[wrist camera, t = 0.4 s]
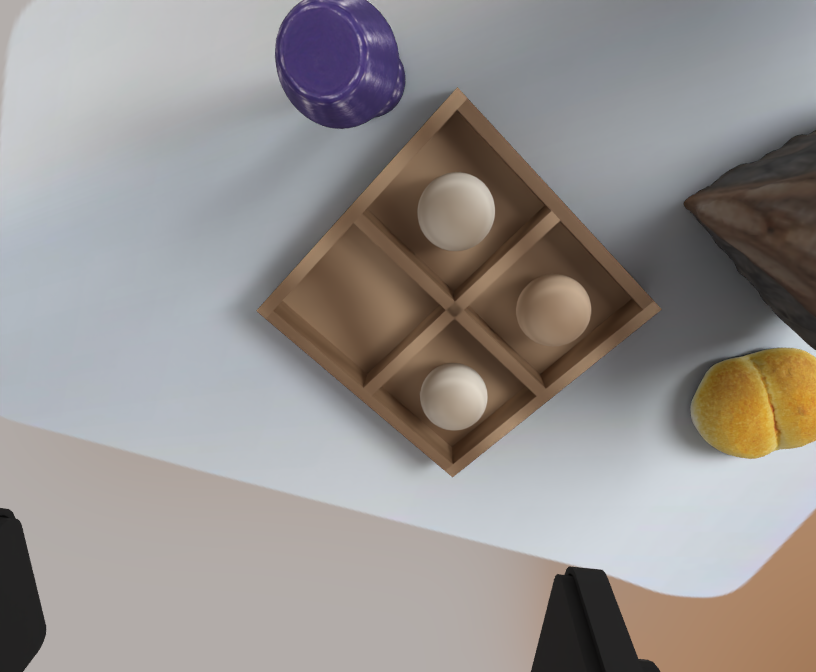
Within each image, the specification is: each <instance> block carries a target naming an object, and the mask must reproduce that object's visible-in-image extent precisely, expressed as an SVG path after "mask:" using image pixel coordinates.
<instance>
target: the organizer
mask: <svg viewBox="0 0 816 672" xmlns="http://www.w3.org/2000/svg"><path fill="white" fill-rule="evenodd" d="M452 172H462V173H467V174H470V175H472V176H474V177H476V178H478V179H479V180H481V181H482V182H483V183H484V184H485V185H486V186H487V188H488V189H489V191H490V193H491V195H492V197H493V201H494V206H495V217H494V221H493V225H492V227H491V229H490V231H489V233H488V234H487V236H486V237H485V238H484V239H483V240H482V241H481V242H480V243H479V244H477V245H476V246H474V247H472V248H470V249H467V250H463V251H448V250H444V249H441V248H439V247H437V246H436V245H434V244H433V243H431V242H430V241H429V240H428V239H427V238H426V236H425V235H424V233H423V232H422V230H421V228H420V225H419V221H418V204H419V200H420V197H421V195H422V193H423V192H424V190H425V188H426V187H427V186H428V185H429V184H430V183H431V182H432V181H433V180H435V179H436V178H438V177H440V176H441V175H444V174H447V173H452ZM548 274H560V275H565V276H568V277H570V278H572V279H574V280H575V281H577V282H578V283H579V284H580V285H582V287H583V288H584V289H585V291H586V292H587V294H588V296H589V299H590V303H591V317H590V321H589V324H588V326H587V328H586V329H585V331H584V332H583V333H582V334H581V335H580V336H579V337H578V338H577V339H575V340H574V341H572V342H570V343H568V344H565V345H562V346H554V347H552V346H544V345H541V344H538V343H536V342H534V341H533V340H531V339H530V338H529V337H527V336H526V335H525V333H524V332H523V331H522V329H521V328H520V326H519V324H518V320H517V316H516V306H517V301H518V298H519V296H520V294H521V292H522V290H523V289H524V288H525V287H526V286H527V285H528V284H529V283H530V282H531V281H533V280H534V279H536V278H538V277H541V276H544V275H548ZM661 310H662V309H661V308H660V307H659V306H658V305H657V304H656V303H655V301H654V300H653V299H652V298H651V297H650V296H649V295H648V294H647V293H646V292H645V291H644V290H643V288H642V287H641V286H640V285H639V284H638V283H637V282H636V281H635V280H634V279H633V278H632V276H631V275H630V274H629V273H628V272H627V271H626V270H625V269H624V268H623V267H622V266H621V265H620V263H619V262H618V261H617V260H616V259H615V258H614V257H613V256H612V255H611V254H610V253H609V251H608V250H607V249H606V248H605V247H604V246H603V245H602V244H601V243H600V242H599V241H598V240H597V238H596V237H595V236H594V235H593V234H592V233H591V232H590V231H589V230H588V229H587V228H586V226H585V225H584V224H583V223H582V222H581V221H580V220H579V219H578V218H577V217H576V216H575V214H574V213H573V212H572V211H571V210H570V209H569V208H568V207H567V206H566V205H565V204H564V203H563V201H562V200H561V199H560V198H559V197H558V196H557V195H556V194H555V193H554V192H553V191H552V189H551V188H550V187H549V186H548V185H547V184H546V183H545V182H544V181H543V180H542V179H541V178H540V176H539V175H538V174H537V173H536V172H535V171H534V170H533V169H532V168H531V167H530V166H529V164H528V163H527V162H526V161H525V160H524V159H523V158H522V157H521V156H520V155H519V154H518V153H517V151H516V150H515V149H514V148H513V147H512V146H511V145H510V144H509V143H508V142H507V141H506V139H505V138H504V137H503V136H502V135H501V134H500V133H499V132H498V131H497V130H496V129H495V127H494V126H493V125H492V124H491V123H490V122H489V121H488V120H487V119H486V118H485V117H484V116H483V114H482V113H481V112H480V111H479V110H478V109H477V108H476V107H475V106H474V105H473V104H472V102H471V101H470V100H469V99H468V98H467V97H466V96H465V95H464V94H463V93H462V92H461V91H460V89H459V88H458V87H457V88H456V89H455V91H454V92H453V93H452V94H451V95H450V96H449V97H448V98H447V99H446V101H445V102H444V103H443V104H442V105H441V106H440V107H439V108H438V109H437V111H436V112H435V113H434V114H433V115H432V116H431V117H430V118H429V119H428V121H427V122H426V123H425V124H424V125H423V126H422V127H421V128H420V129H419V131H418V132H417V133H416V134H415V135H414V136H413V137H412V138H411V139H410V141H409V142H408V143H407V144H406V145H405V146H404V147H403V148H402V149H401V151H400V152H399V153H398V154H397V155H396V156H395V157H394V158H393V159H392V161H391V162H390V163H389V164H388V165H387V166H386V167H385V168H384V169H383V171H382V172H381V173H380V174H379V175H378V176H377V177H376V178H375V179H374V181H373V182H372V183H371V184H370V185H369V186H368V187H367V188H366V189H365V191H364V192H363V193H362V194H361V195H360V196H359V197H358V198H357V199H356V201H355V202H354V203H353V204H352V205H351V206H350V207H349V208H348V209H347V211H346V212H345V213H344V214H343V215H342V216H341V217H340V218H339V219H338V221H337V222H336V223H335V224H334V225H333V226H332V227H331V228H330V229H329V231H328V232H327V233H326V234H325V235H324V236H323V237H322V238H321V239H320V241H319V242H318V243H317V244H316V245H315V246H314V247H313V248H312V249H311V251H310V252H309V253H308V254H307V255H306V256H305V257H304V258H303V259H302V261H301V262H300V263H299V264H298V265H297V266H296V267H295V268H294V269H293V271H292V272H291V273H290V274H289V275H288V276H287V277H286V278H285V279H284V281H283V282H282V283H281V284H280V285H279V286H278V287H277V288H276V289H275V291H274V292H273V293H272V294H271V295H270V296H269V297H268V298H267V299H266V301H265V302H264V303H263V304H262V305H261V306H260V307H259V308H258V309H257V312H258V313H259V314H260V315H262V316H263V317H264V318H265V319H266V320H268V321H269V322H270V323H271V324H272V325H273V326H275V327H276V328H277V329H278V330H279V331H281V332H282V333H283V334H284V335H285V336H286V337H288V338H289V339H290V340H291V341H292V342H293V343H295V344H296V345H297V346H298V347H299V348H301V349H302V350H303V351H304V352H305V353H306V354H308V355H309V356H310V357H311V358H312V359H314V360H315V361H316V362H317V363H318V364H319V365H321V366H322V367H323V368H324V369H325V370H327V371H328V372H329V373H330V374H331V375H332V376H334V377H335V378H336V379H337V380H338V381H340V382H341V383H342V384H343V385H344V386H345V387H347V388H348V389H349V390H350V391H351V392H353V393H354V394H355V395H356V396H357V397H358V398H360V399H361V400H362V401H363V402H364V403H365V404H367V405H368V406H369V407H370V408H371V409H373V410H374V411H375V412H376V413H377V414H378V415H380V416H381V417H382V418H383V419H384V420H386V421H387V422H388V423H389V424H390V425H391V426H393V427H394V428H395V429H396V430H397V431H399V432H400V433H401V434H402V435H403V436H404V437H406V438H407V439H408V440H409V441H410V442H412V443H413V444H414V445H415V446H416V447H417V448H419V449H420V450H421V451H422V452H423V453H425V454H426V455H427V456H428V457H429V458H430V459H432V460H433V461H434V462H435V463H436V464H437V465H439V466H440V467H441V468H442V469H443V470H445V471H446V472H447V473H448V474H449V475H450V476H452V477H454V476H455V475H456V474H457V473H459V472H460V471H461V470H462V469H464V468H465V467H466V466H467V465H469V464H470V463H471V462H472V461H474V460H475V459H476V458H477V457H479V456H480V455H481V454H482V453H484V452H485V451H486V450H487V449H489V448H490V447H491V446H492V445H494V444H495V443H496V442H497V441H499V440H500V439H501V438H502V437H504V436H505V435H506V434H507V433H509V432H510V431H511V430H512V429H514V428H515V427H516V426H517V425H519V424H520V423H521V422H522V421H524V420H525V419H526V418H527V417H528V416H530V415H531V414H532V413H533V412H535V411H536V410H537V409H538V408H540V407H541V406H542V405H543V404H545V403H546V402H547V401H548V400H550V399H551V398H552V397H553V396H555V395H556V394H557V393H558V392H560V391H561V390H562V389H563V388H565V387H566V386H567V385H568V384H570V383H571V382H572V381H573V380H575V379H576V378H577V377H578V376H580V375H581V374H582V373H583V372H585V371H586V370H587V369H588V368H590V367H591V366H592V365H593V364H595V363H596V362H597V361H598V360H600V359H601V358H602V357H603V356H605V355H606V354H607V353H608V352H610V351H611V350H612V349H613V348H614V347H616V346H617V345H618V344H619V343H621V342H622V341H623V340H624V339H626V338H627V337H628V336H629V335H631V334H632V333H633V332H634V331H636V330H637V329H638V328H639V327H641V326H642V325H643V324H644V323H646V322H647V321H648V320H649V319H651V318H652V317H653V316H654V315H656V314H657V313H658V312H659V311H661ZM448 363H460V364H464V365H466V366H469V367H470V368H472V369H474V370H475V371H476V372H477V373H478V374H479V375H480V376H481V378H482V379H483V381H484V383H485V386H486V389H487V397H488V399H487V405H486V409H485V411H484V413H483V415H482V416H481V418H480V419H479V420H478V421H477V422H476V423H475V424H473V425H472V426H470V427H468V428H466V429H462V430H446V429H443V428H441V427H438V426H437V425H435V424H434V423H432V422H431V421H430V420H429V419H428V417H427V416H426V415H425V413H424V411H423V408H422V406H421V400H420V392H421V387H422V384H423V382H424V380H425V378H426V377H427V375H428V374H429V373H430V372H431V371H432V370H434V369H435V368H437V367H438V366H441V365H443V364H448Z"/></svg>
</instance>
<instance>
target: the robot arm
mask: <svg viewBox="0 0 816 672" xmlns="http://www.w3.org/2000/svg"><path fill="white" fill-rule="evenodd" d="M45 635H46V624H45V620H44V615H43V611H42V607H41V603H40V599H39V595H38V591H37V587H36V583H35V578H34V574H33V570H32V566H31V562H30V558H29V553H28V549H27V545H26V541H25V537H24V533H23V528H22V525H21V523H20V521H19V520H18V519H15V516H14V514H13V512H12V511H10V510H9V509H3V508H0V672H23V671H24V670H25V668H26V667H27V666H28V664H29V663H30V662H31V660H32V659H33V658H34V656H35V655H36V654H37V652H38V651H39V649H40V648H41V646H42V644H43V642H44V639H45ZM531 672H660V670H659V668H657V666H656V665H655V664H654V663H653V662H652V661H649V660H644V659H638V657H637V654H636V652H635V649H634V647H633V644H632V641H631V639H630V636H629V633H628V631H627V628H626V625H625V622H624V620H623V617H622V615H621V612H620V609H619V607H618V604H617V602H616V599H615V596H614V594H613V591H612V588H611V586H610V583H609V580H608V578H607V576H606V574H605V572H604V571H603V570H599V569H589V568H579V567H568V568H567V569H566V572H565V575H559V574H557V575H556V576H555V579H554V582H553V586H552V590H551V594H550V598H549V602H548V606H547V610H546V614H545V618H544V622H543V626H542V630H541V634H540V638H539V642H538V646H537V650H536V654H535V658H534V662H533V666H532V670H531Z"/></svg>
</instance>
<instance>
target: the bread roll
mask: <svg viewBox="0 0 816 672" xmlns="http://www.w3.org/2000/svg"><path fill="white" fill-rule="evenodd" d="M690 411H691V418H692V422H693V424H694V426H695V427H696V429H697V430H698V432H699V433H700V435H701V436H702V437H703V438H704V439H705V441H706V442H707V443H709V444H710V445H711V446H713V447H714V448H716V449H717V450H719V451H721V452H723V453H726V454H728V455H732V456H736V457H741V458H749V459H754V458H759V457H763V456H765V455H767V454H769V453H771V452H773V451H775V450H779V449H791V448H797V447H802V446H804V445H806V444H808V443H811V442H813V441H816V358H815V357H814V356H813V355H811V354H810V353H808V352H806V351H803V350H800V349H795V348H773V349H766V350H762V351H759V352H756V353H752V354H749V355H745V356H742V357H736V358H731V359H727V360H724V361H721V362H719V363H717V364H715V365H713V366H712V367H711V368H710V369H709V370H708V371H707V372H706V374H705V376H704V377H703V379H702V381H701V383H700V385H699V387H698V389H697V391H696V392H695V395H694V397H693V399H692V402H691V406H690Z"/></svg>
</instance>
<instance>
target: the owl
mask: <svg viewBox="0 0 816 672" xmlns="http://www.w3.org/2000/svg"><path fill="white" fill-rule="evenodd" d="M684 206H685V207H686V209H688V210H689V211H690V212H691V213H692V214H693V215H694V216H695V217H696V219H697V220H698V221H699V222H700V223H701V224H702V225H703V226H704V227H705V229H706V230H707V231H708V232H709V233H710V234H711V235H712V237H713V239H714V241H715V243H716V244H717V245H718V246H719V247H720V248H721V249H722V250H723V251H725V252H726V253H727V254H728V256H729V257H730V258H731V259H732V260H733V262H734V263H735V265H736V268H737V270H738V272H739V273H740V274H741V275H743V276H744V277H746V278H747V279H748V280H749V281H750V283H751V284H752V285H753V286H754V287H755V288H756V289H757V290H758V291H759V293H760V296H761V297H762V299H763V300H764V301H765V302H766V304H768V305H769V306H770V307H771V309H772V310H773V311H774V312H775V314H776V315H777V316H778V317H779V318H780V319H781V320H782V321H783V322H784V323H786V324H787V325H788V326H789V327H790V328H791V329H792V330H793V331H795V332H796V333H797V334H798V335H799V336H800V337H801V338H802V339H803V340H804V341H805V342H806V343H807V344H808V345H810V346H811V347H812V348H813V349H815V350H816V131H814V132H812V133H811V134H809V135H797V136H795V137H793V138H791V139H790V140H789V141H788V142H787V143H786V144H785V145H784V146H782V147H781V148H780V149H778V150H775V151H772V152H770V153H768V154H766V155H765V156H764V157H763V158H761V159H760V160H758V161H756V162H752V163H749V164H741V165H739V166H737V167H735V168H733V169H731V170H729V171H728V172H726V173H725V174H724V175H722V176H721V177H720V178H719V179H718V180H717V181H715V182H714V183H713V184H712V185H711V186H708V187H706V188H705V189H702V190H700V191H698V192H697V193H696V194H694V195H692V196H690V197H689V198H688V199H686V200H685V201H684Z"/></svg>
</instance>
